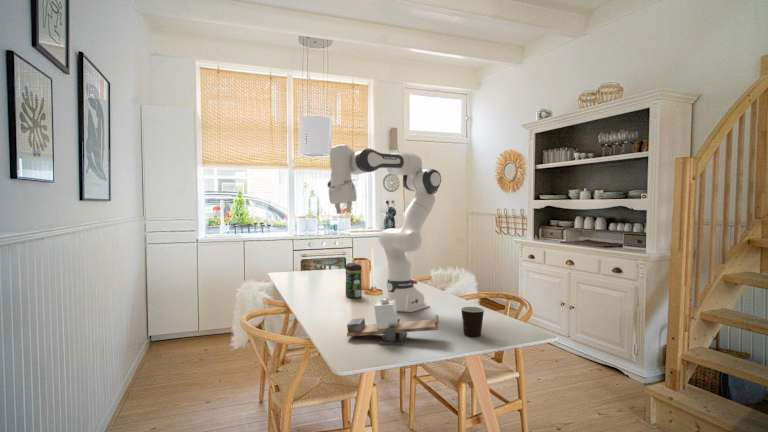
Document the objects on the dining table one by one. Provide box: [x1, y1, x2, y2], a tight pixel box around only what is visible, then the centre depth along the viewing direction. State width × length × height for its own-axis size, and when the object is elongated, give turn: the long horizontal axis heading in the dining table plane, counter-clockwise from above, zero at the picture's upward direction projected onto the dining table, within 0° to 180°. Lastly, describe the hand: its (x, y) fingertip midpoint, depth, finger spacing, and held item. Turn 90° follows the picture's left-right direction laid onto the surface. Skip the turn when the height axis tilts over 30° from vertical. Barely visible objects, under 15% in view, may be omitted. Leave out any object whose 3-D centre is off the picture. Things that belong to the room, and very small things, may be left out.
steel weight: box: [374, 297, 399, 330], centre depth 159 cm, size 7×7×10 cm
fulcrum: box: [379, 318, 407, 347], centre depth 159 cm, size 8×16×6 cm, turn 171°
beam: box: [346, 314, 440, 338], centre depth 159 cm, size 34×10×4 cm, turn 81°
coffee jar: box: [345, 262, 362, 299], centre depth 230 cm, size 10×8×19 cm
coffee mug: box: [461, 306, 485, 338], centre depth 164 cm, size 12×9×10 cm
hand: (343, 213), depth 183 cm, fingers open, 8 cm apart
